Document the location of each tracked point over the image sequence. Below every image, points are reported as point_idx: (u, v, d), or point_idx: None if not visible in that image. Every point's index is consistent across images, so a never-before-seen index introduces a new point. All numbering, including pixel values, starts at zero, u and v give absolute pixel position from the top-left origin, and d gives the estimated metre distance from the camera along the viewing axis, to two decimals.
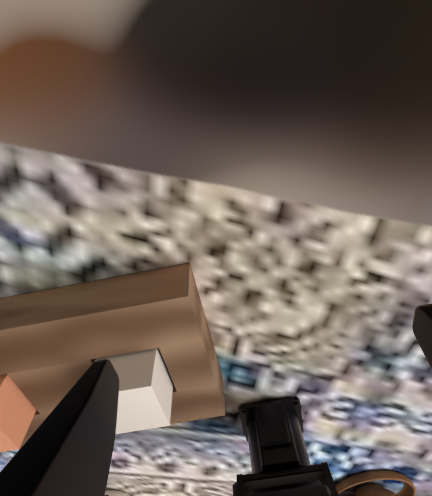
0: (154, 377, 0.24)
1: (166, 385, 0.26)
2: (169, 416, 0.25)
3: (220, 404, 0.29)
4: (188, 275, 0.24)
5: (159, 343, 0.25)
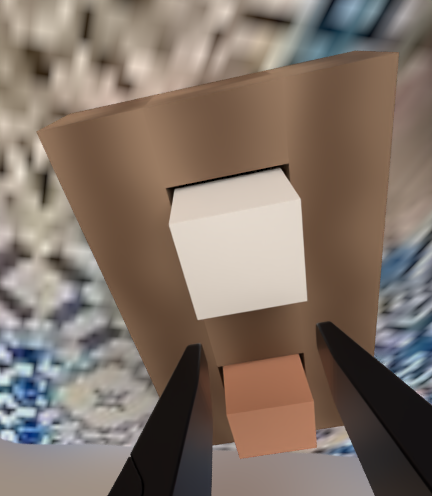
0: (182, 210, 0.13)
1: (246, 185, 0.14)
2: (289, 194, 0.12)
3: (352, 66, 0.12)
4: (59, 121, 0.15)
5: (154, 186, 0.14)
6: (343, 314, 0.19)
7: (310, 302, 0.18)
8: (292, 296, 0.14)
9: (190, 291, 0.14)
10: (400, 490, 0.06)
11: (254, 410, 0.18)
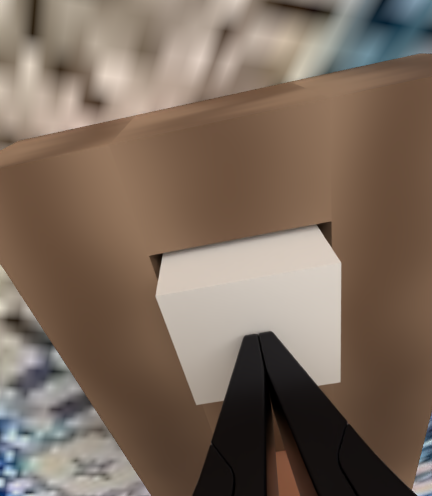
0: (174, 270, 0.09)
1: None
2: (322, 252, 0.09)
3: None
4: None
5: (132, 253, 0.10)
6: (390, 402, 0.14)
7: (347, 389, 0.14)
8: (321, 377, 0.11)
9: (186, 373, 0.10)
10: None
11: None
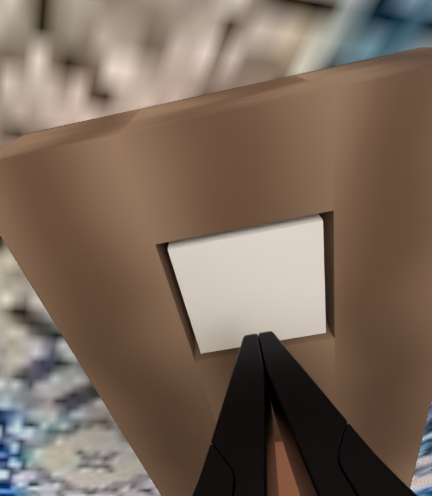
0: None
1: None
2: None
3: None
4: (6, 146, 0.11)
5: (139, 242, 0.10)
6: (390, 391, 0.14)
7: (348, 379, 0.14)
8: (309, 328, 0.12)
9: (192, 323, 0.12)
10: None
11: None
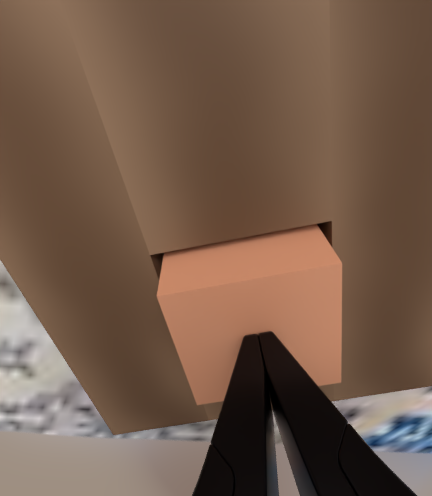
0: None
1: None
2: None
3: None
4: None
5: None
6: (430, 105, 0.08)
7: (354, 60, 0.07)
8: None
9: None
10: None
11: (216, 287, 0.09)
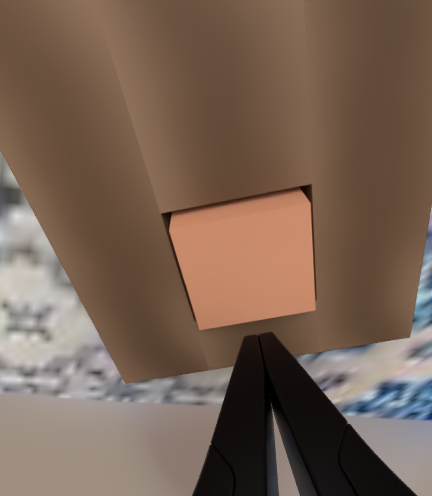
0: None
1: None
2: None
3: None
4: None
5: None
6: (388, 85, 0.10)
7: (325, 48, 0.09)
8: None
9: None
10: None
11: (215, 223, 0.11)
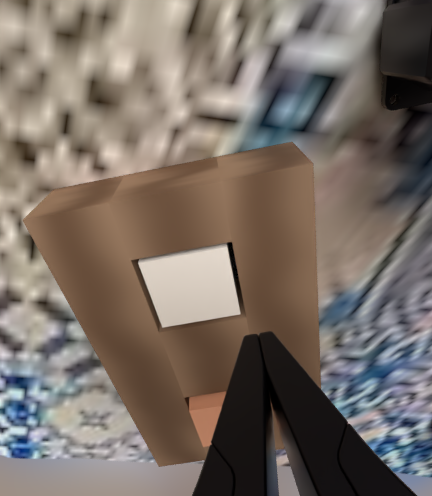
0: None
1: None
2: None
3: (276, 173, 0.15)
4: (43, 201, 0.18)
5: (121, 258, 0.17)
6: None
7: None
8: (229, 311, 0.20)
9: (155, 307, 0.19)
10: None
11: (211, 407, 0.23)
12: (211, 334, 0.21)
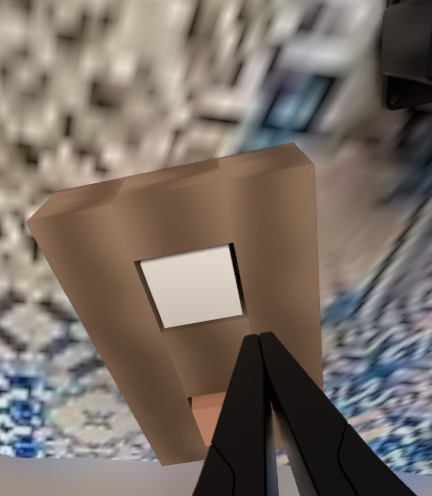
0: None
1: None
2: None
3: (278, 174, 0.15)
4: (46, 203, 0.18)
5: (124, 260, 0.17)
6: None
7: None
8: (231, 311, 0.20)
9: (158, 308, 0.19)
10: None
11: (214, 407, 0.23)
12: (213, 334, 0.21)
